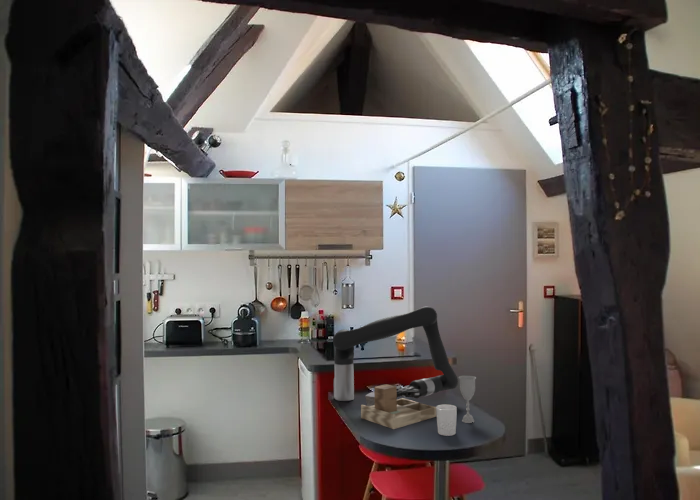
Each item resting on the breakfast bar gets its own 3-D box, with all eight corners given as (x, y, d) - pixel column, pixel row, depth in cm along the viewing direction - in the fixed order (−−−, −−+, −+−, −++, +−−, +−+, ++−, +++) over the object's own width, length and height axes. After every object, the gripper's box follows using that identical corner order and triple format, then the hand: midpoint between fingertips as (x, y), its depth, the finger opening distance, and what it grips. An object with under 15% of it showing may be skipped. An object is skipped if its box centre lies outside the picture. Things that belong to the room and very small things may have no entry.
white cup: (434, 430, 208) (433, 404, 208) (453, 429, 208) (453, 403, 209) (439, 437, 200) (438, 410, 200) (459, 436, 201) (459, 409, 201)
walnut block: (374, 410, 221) (374, 386, 221) (387, 407, 225) (386, 384, 225) (384, 414, 216) (384, 389, 216) (396, 410, 221) (396, 386, 221)
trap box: (361, 417, 225) (360, 405, 225) (402, 406, 241) (402, 394, 241) (393, 429, 210) (393, 415, 210) (436, 416, 226) (435, 403, 226)
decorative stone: (365, 413, 233) (388, 412, 232) (364, 397, 233) (387, 396, 232) (366, 404, 248) (388, 403, 247) (365, 389, 248) (387, 389, 247)
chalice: (477, 419, 221) (477, 376, 221) (476, 424, 214) (475, 379, 215) (460, 418, 223) (459, 375, 223) (458, 422, 217) (457, 378, 217)
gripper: (411, 377, 240) (382, 383, 229) (433, 382, 230) (404, 388, 219) (411, 393, 240) (383, 400, 229) (433, 399, 230) (404, 406, 219)
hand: (393, 394), depth 224 cm, fingers closed
